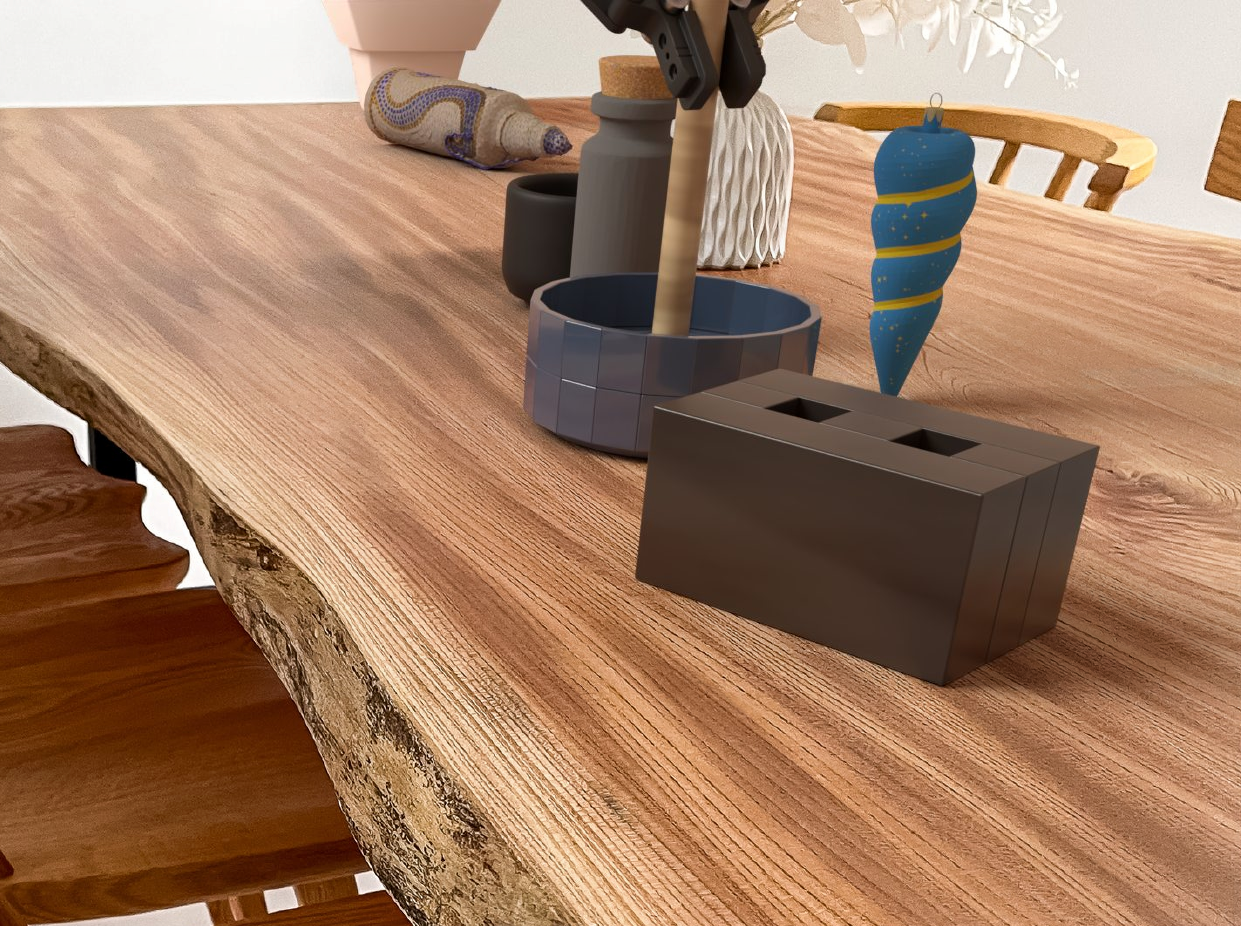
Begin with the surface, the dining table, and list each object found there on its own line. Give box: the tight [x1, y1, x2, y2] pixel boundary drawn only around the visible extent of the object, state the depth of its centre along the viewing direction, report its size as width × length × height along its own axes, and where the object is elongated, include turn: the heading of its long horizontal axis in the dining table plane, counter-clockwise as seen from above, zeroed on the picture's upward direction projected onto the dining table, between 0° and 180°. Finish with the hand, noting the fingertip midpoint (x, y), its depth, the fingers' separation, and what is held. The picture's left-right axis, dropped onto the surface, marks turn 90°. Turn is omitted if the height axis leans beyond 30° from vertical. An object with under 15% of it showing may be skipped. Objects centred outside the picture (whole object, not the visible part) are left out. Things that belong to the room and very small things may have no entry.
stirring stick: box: [652, 0, 729, 336], centre depth 83 cm, size 2×2×19 cm
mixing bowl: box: [522, 272, 823, 459], centre depth 87 cm, size 14×14×6 cm
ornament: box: [869, 92, 978, 397], centre depth 89 cm, size 5×5×15 cm
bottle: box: [570, 54, 678, 278], centre depth 100 cm, size 6×6×15 cm
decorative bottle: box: [363, 68, 573, 170], centre depth 156 cm, size 26×8×7 cm, turn 33°
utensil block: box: [634, 369, 1101, 687], centre depth 67 cm, size 8×14×7 cm, turn 44°
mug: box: [501, 172, 579, 306], centre depth 108 cm, size 12×9×7 cm
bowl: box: [321, 0, 502, 112], centre depth 177 cm, size 19×19×14 cm
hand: (724, 96), depth 79 cm, fingers closed on stirring stick, 2 cm apart
